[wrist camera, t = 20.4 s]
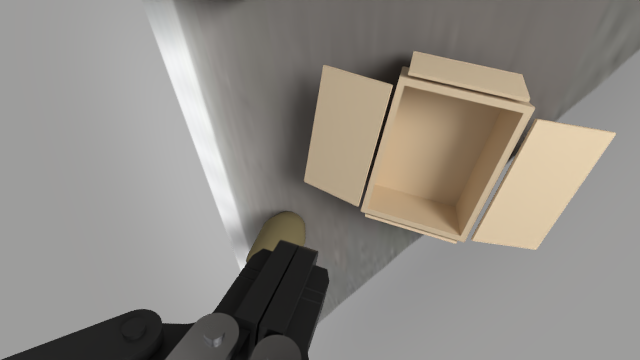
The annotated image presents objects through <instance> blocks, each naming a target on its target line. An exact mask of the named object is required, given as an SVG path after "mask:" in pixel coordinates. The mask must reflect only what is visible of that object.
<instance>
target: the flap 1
mask: <svg viewBox="0 0 640 360" xmlns="http://www.w3.org/2000/svg"><path fill="white" fill-rule="evenodd" d="M392 87H393V85H391V84H388V83H385V82H381V81H378V80H375V79H371V78H368V77H364V76H361V75H358V74H354V73H351V72H348V71H344V70H341V69H337V68H334V67H331V66H327V65H323V71H322V77H321V83H320V89H319V95H318V101H317V107H316V113H315V118H314V124H313V130H312V136H311V142H310V148H309V154H308V160H307V166H306V172H305V178H304V182H306V183H308V184H310V185H312V186H315V187H317V188H319V189H321V190H323V191H325V192H327V193H330V194H332V195H334V196H336V197H338V198H340V199H342V200H344V201H347V202H349V203H351V204H353V205H355V206H357V207H358V206H359V203H360V200H361V196H362V193H363V189H364V186H365V182H366V179H367V175H368V172H369V168H370V165H371V161H372V158H373V154H374V151H375V147H376V143H377V140H378V136H379V133H380V129H381V126H382V122H383V119H384V115H385V112H386V108H387V105H388V101H389V98H390V94H391V91H392Z"/></svg>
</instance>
